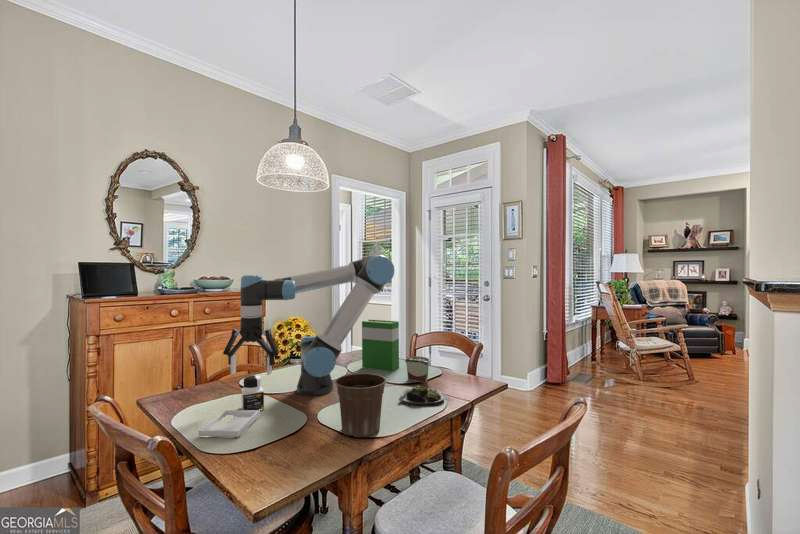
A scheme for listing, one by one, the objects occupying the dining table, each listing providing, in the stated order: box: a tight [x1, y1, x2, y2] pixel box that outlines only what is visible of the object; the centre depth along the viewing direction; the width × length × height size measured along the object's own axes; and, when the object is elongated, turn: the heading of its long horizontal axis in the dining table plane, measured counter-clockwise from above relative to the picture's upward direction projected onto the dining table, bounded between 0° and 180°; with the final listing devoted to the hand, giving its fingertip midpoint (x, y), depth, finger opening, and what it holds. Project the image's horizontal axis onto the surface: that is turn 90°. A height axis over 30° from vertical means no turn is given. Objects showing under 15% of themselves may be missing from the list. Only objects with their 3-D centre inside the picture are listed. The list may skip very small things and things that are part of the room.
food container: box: [404, 356, 431, 384], centre depth 174 cm, size 12×6×10 cm, turn 58°
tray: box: [197, 409, 261, 438], centre depth 125 cm, size 13×17×2 cm
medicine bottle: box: [240, 374, 265, 410], centre depth 140 cm, size 7×7×12 cm
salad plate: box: [398, 384, 445, 407], centre depth 151 cm, size 19×18×5 cm
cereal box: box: [361, 319, 400, 372], centre depth 194 cm, size 18×7×24 cm, turn 64°
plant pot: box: [335, 372, 387, 438], centre depth 122 cm, size 16×16×16 cm
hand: (251, 373), depth 140 cm, fingers open, 13 cm apart
